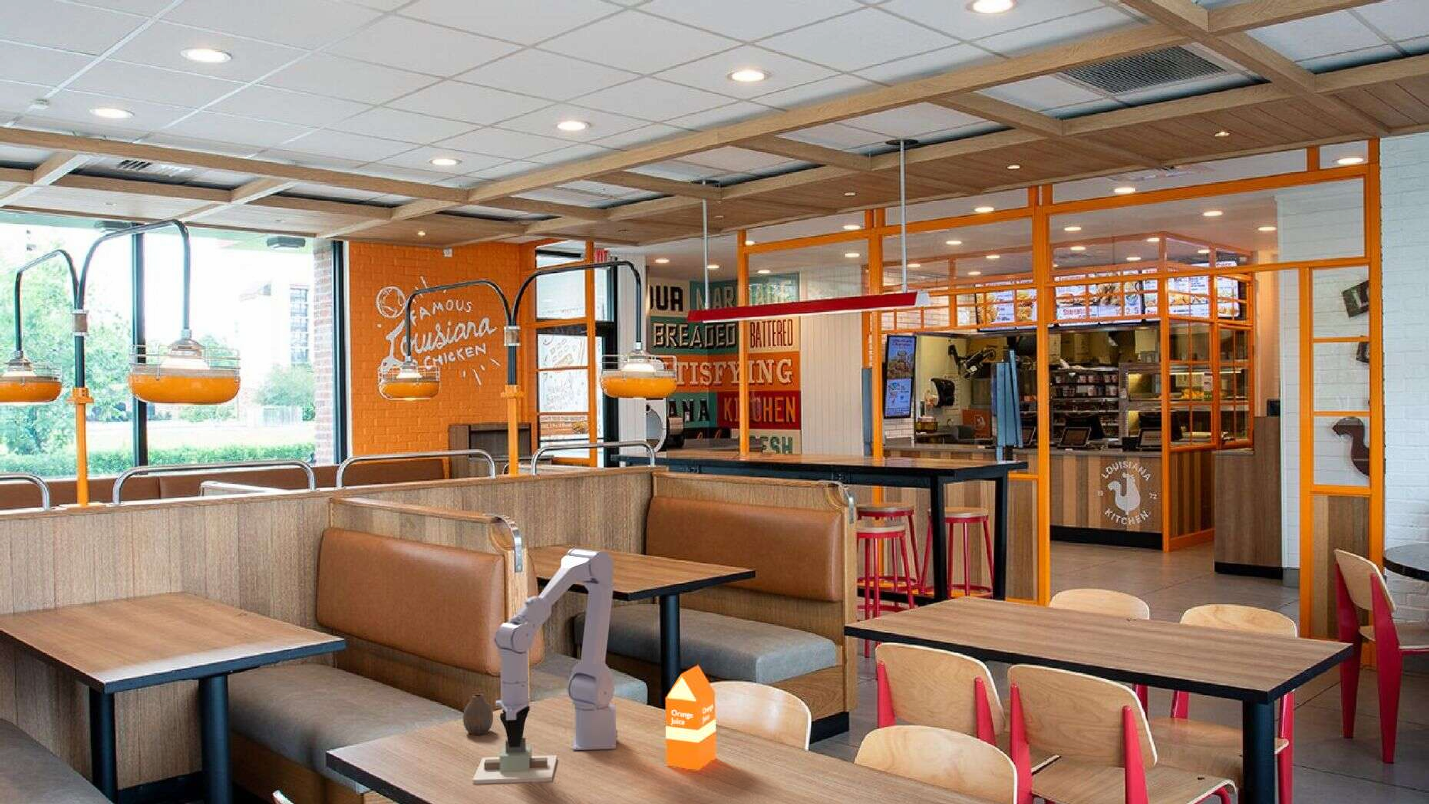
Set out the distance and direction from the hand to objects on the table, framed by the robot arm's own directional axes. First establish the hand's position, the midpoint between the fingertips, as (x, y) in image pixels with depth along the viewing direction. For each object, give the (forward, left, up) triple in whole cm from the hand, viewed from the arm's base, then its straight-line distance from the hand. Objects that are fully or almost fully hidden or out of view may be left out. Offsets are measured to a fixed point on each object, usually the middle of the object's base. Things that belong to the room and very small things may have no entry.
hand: (515, 744), depth 242 cm
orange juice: (-37, -2, -6) cm, 38 cm away
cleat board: (0, 0, -6) cm, 6 cm away
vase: (+12, -28, -6) cm, 31 cm away
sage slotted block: (0, 0, -5) cm, 5 cm away
